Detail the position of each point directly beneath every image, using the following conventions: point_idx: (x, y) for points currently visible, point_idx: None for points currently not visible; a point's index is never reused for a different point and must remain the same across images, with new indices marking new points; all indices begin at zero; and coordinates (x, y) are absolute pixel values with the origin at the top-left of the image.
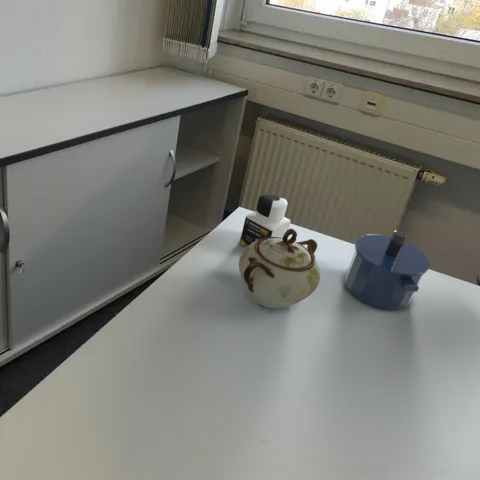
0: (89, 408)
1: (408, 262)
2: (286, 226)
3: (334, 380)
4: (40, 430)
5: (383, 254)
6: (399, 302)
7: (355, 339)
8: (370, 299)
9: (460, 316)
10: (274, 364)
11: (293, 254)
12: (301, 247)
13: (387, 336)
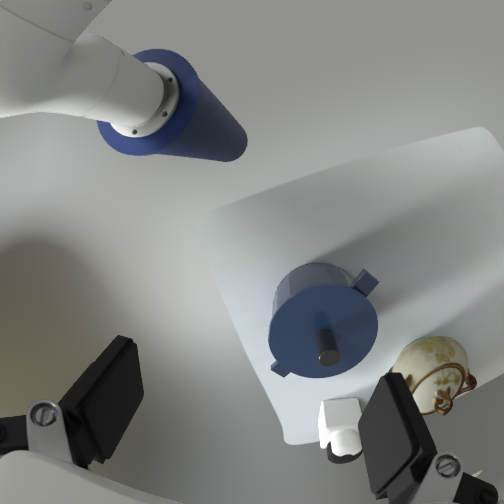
0: None
1: (330, 311)
2: (333, 422)
3: (481, 251)
4: None
5: (339, 341)
6: (342, 272)
7: (425, 269)
8: None
9: (273, 205)
10: (490, 294)
11: (450, 385)
12: (428, 391)
13: (396, 249)
